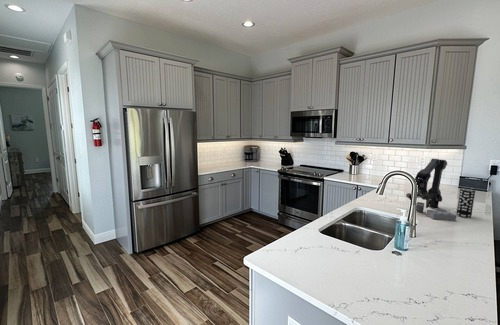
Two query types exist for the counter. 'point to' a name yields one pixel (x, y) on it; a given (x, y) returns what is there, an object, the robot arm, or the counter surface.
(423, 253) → the counter surface
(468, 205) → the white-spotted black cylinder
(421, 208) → the lens
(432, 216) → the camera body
